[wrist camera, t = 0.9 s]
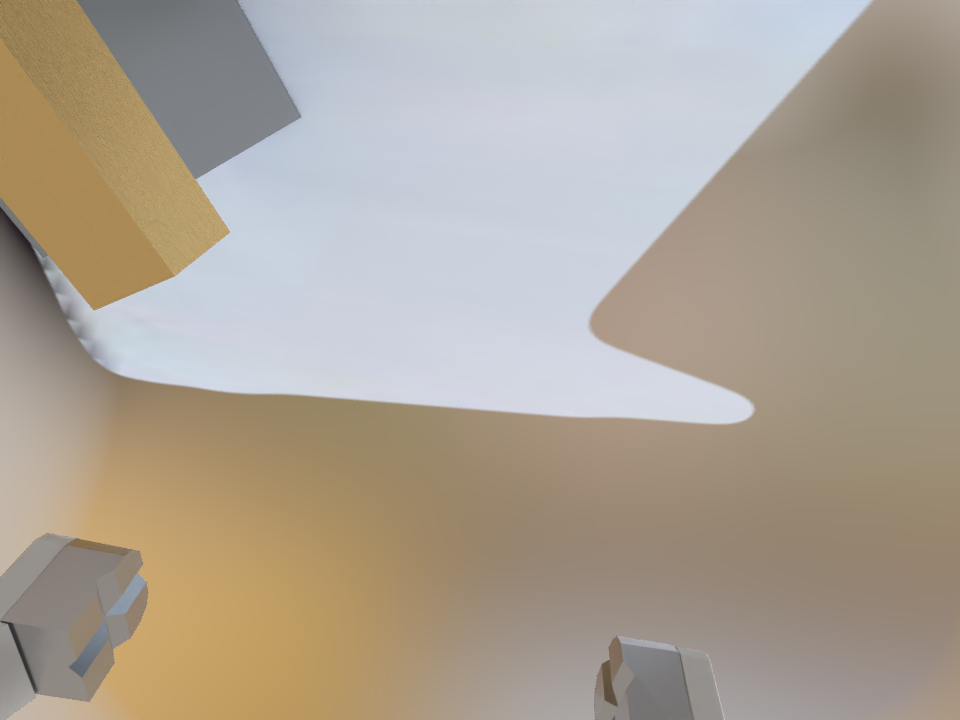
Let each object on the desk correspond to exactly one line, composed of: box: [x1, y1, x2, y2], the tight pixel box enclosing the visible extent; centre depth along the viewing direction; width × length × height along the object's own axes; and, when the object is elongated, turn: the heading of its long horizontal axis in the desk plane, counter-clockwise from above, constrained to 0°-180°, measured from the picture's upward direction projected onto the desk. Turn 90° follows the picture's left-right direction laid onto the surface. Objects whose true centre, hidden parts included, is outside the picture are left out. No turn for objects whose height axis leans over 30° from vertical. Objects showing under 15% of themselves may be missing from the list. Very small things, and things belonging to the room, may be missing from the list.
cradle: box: [0, 0, 301, 258], centre depth 36 cm, size 8×14×18 cm, turn 25°
